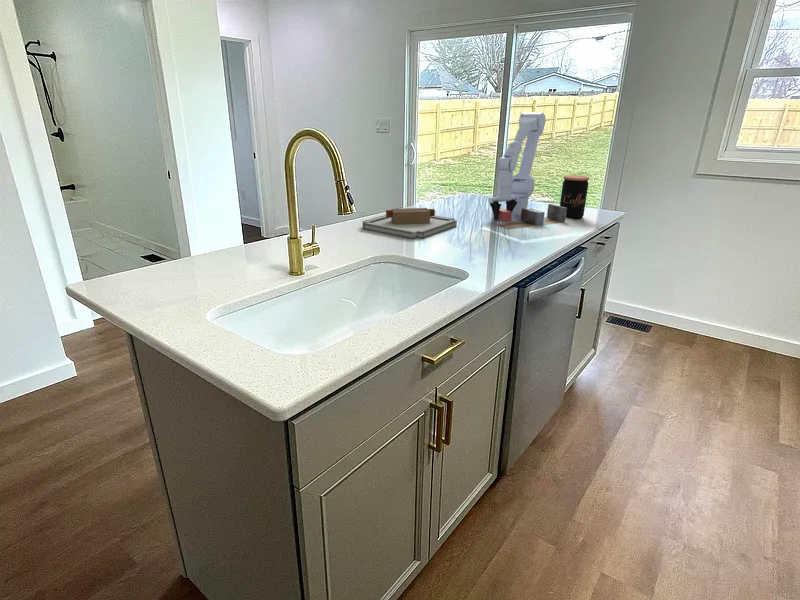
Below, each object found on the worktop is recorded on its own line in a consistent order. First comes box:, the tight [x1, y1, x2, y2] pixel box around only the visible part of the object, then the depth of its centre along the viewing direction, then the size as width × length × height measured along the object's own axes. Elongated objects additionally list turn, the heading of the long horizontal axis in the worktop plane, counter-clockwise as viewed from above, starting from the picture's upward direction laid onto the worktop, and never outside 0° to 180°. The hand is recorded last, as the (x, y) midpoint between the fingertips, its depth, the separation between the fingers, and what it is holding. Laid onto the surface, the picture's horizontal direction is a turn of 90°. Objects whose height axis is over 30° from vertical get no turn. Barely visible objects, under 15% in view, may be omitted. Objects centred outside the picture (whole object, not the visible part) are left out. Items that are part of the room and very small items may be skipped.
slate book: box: [527, 208, 546, 226], centre depth 195 cm, size 8×4×5 cm, turn 26°
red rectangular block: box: [492, 207, 513, 222], centre depth 202 cm, size 8×4×5 cm, turn 26°
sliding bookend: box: [520, 208, 538, 225], centre depth 194 cm, size 9×1×5 cm, turn 26°
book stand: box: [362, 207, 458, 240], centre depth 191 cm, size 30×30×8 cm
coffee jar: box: [559, 174, 590, 221], centre depth 207 cm, size 11×11×18 cm
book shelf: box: [494, 203, 567, 230], centre depth 194 cm, size 10×30×7 cm, turn 116°
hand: (502, 218), depth 202 cm, fingers open, 6 cm apart
